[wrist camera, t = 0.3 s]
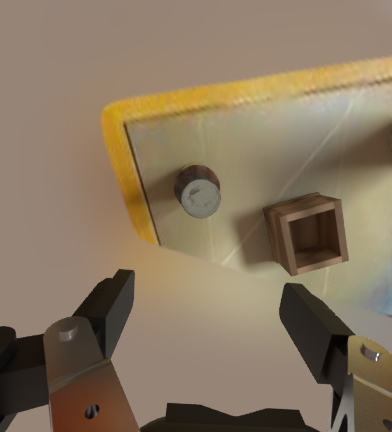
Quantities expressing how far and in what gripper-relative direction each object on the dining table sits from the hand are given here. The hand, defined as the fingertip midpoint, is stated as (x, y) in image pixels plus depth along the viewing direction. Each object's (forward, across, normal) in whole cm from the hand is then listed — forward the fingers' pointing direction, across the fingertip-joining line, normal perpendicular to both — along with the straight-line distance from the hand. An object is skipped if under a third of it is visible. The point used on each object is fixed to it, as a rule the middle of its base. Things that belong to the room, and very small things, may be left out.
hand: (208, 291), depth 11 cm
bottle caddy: (+31, -21, +4) cm, 37 cm away
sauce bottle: (+31, +1, -4) cm, 31 cm away
